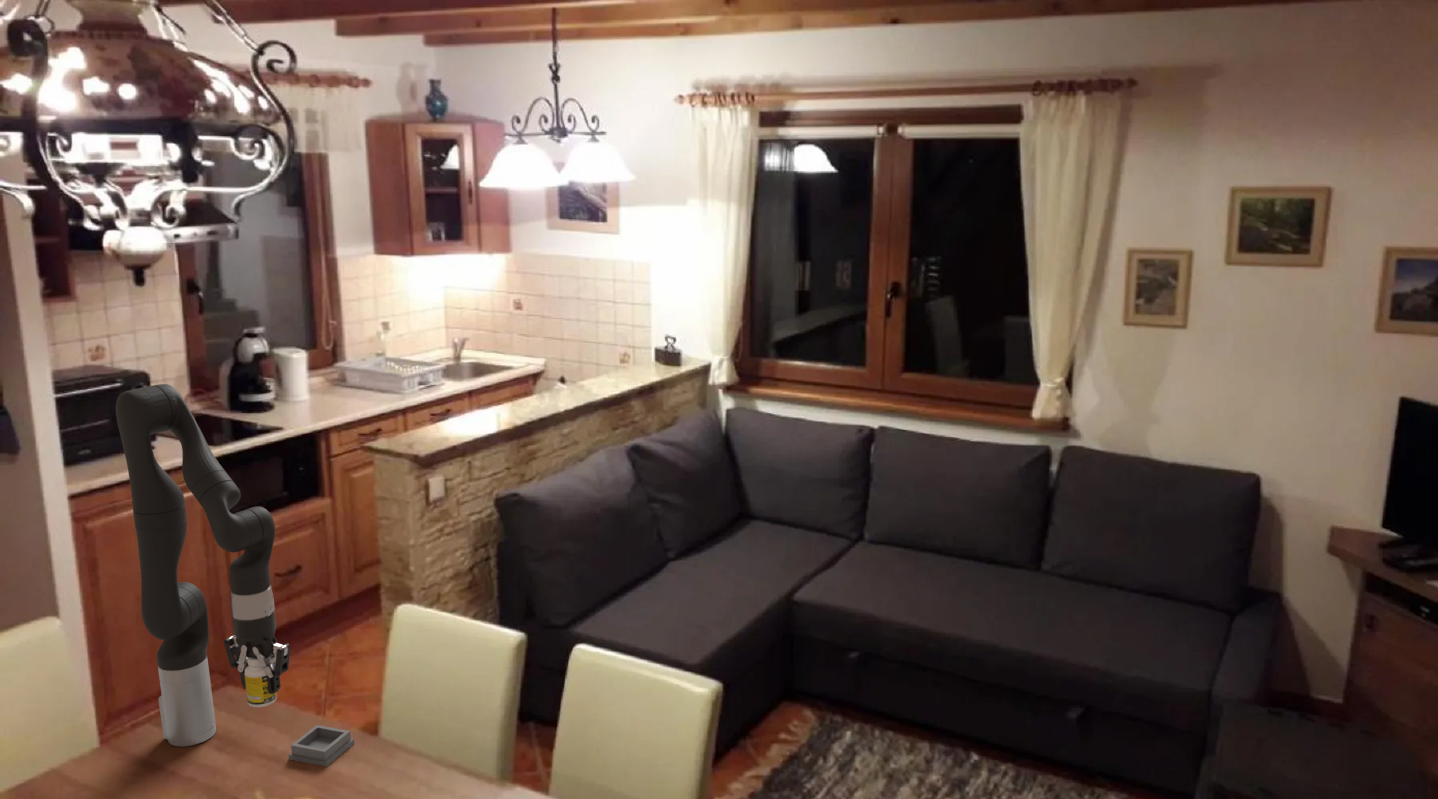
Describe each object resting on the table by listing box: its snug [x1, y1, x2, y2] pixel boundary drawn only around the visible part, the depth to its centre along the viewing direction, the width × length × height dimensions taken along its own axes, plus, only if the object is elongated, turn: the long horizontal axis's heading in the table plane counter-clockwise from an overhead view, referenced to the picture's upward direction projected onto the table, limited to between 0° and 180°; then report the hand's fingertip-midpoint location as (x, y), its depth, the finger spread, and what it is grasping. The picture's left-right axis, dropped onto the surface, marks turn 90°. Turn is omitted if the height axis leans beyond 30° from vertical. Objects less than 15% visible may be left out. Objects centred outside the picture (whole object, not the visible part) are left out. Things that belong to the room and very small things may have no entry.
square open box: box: [288, 724, 355, 768], centre depth 219 cm, size 9×9×3 cm
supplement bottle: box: [245, 657, 278, 708], centre depth 209 cm, size 5×5×10 cm
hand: (261, 689), depth 210 cm, fingers closed on supplement bottle, 5 cm apart
